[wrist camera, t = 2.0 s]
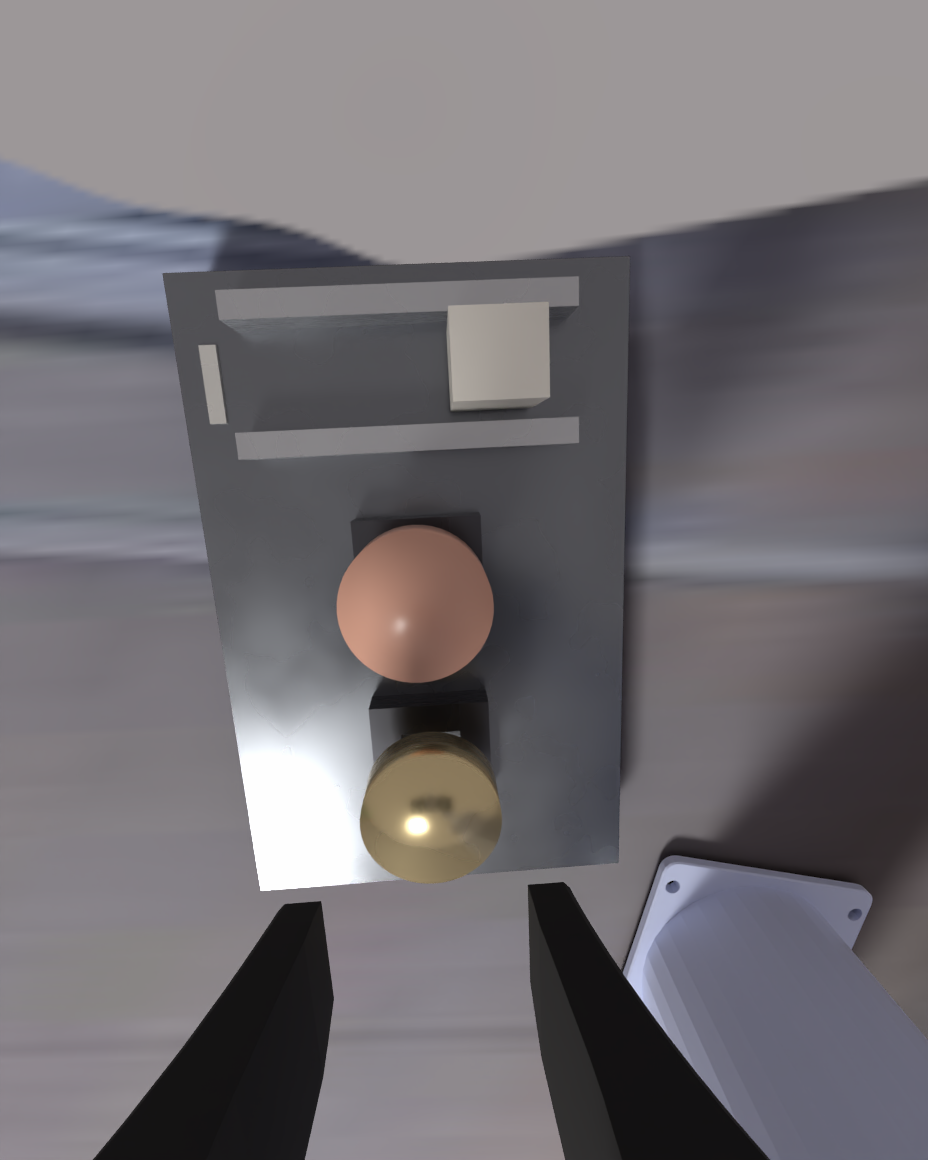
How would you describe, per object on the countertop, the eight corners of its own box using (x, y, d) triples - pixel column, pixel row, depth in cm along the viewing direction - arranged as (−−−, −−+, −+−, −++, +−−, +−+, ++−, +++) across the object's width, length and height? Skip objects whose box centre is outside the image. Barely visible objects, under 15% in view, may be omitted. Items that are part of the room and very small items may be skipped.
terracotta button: (487, 644, 13) (496, 678, 11) (359, 652, 13) (344, 687, 11) (482, 516, 12) (490, 527, 10) (346, 523, 12) (328, 536, 10)
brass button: (494, 818, 14) (504, 877, 12) (376, 826, 14) (366, 888, 12) (490, 710, 14) (499, 754, 12) (366, 718, 13) (353, 764, 11)
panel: (599, 820, 18) (629, 888, 15) (280, 844, 18) (249, 918, 15) (604, 284, 15) (646, 238, 12) (200, 299, 14) (138, 256, 11)
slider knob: (531, 408, 13) (550, 397, 11) (450, 411, 13) (453, 401, 11) (529, 328, 13) (548, 301, 10) (446, 332, 12) (447, 305, 10)
